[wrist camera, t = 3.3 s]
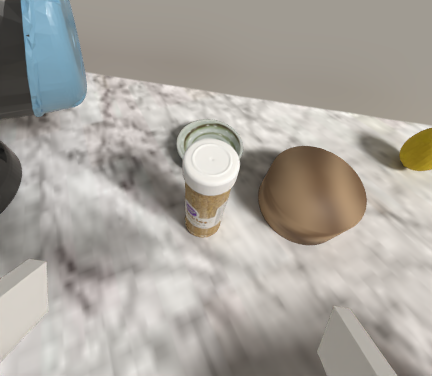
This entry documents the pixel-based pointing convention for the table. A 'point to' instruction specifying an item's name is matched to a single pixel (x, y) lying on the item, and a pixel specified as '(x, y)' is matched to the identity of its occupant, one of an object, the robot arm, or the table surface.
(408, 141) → the lemon
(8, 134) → the table surface
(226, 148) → the sprinkles bottle
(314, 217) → the walnut pedestal
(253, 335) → the table surface
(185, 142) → the saucer
